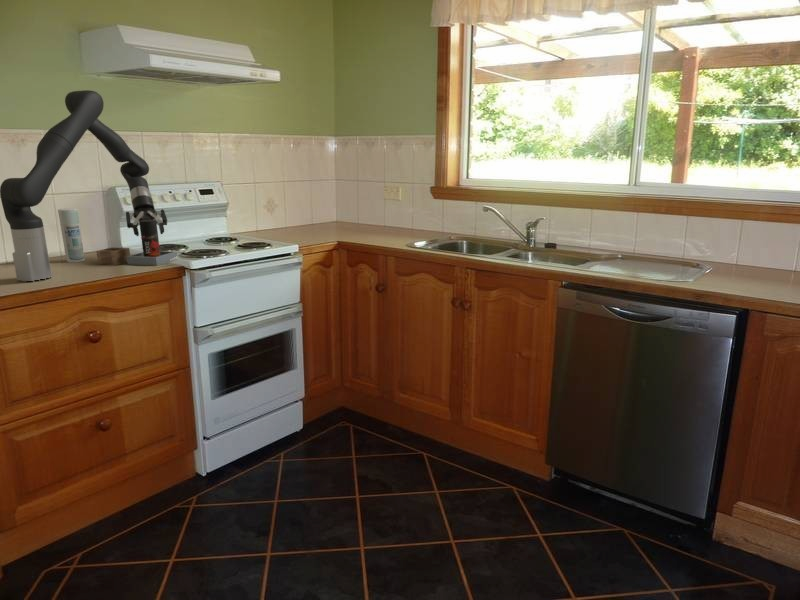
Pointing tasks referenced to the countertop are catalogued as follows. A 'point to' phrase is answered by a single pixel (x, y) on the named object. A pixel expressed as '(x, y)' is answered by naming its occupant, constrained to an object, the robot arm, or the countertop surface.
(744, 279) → the countertop surface
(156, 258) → the tray
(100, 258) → the brown square block
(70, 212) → the spray can
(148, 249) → the deodorant
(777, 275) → the countertop surface
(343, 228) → the countertop surface
